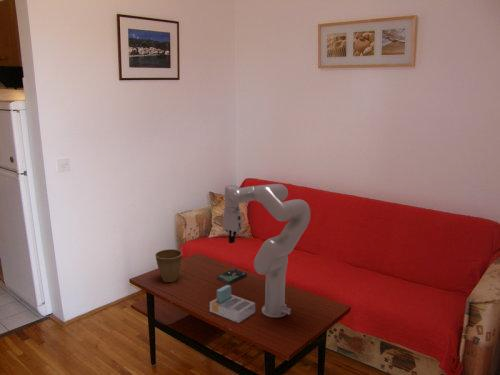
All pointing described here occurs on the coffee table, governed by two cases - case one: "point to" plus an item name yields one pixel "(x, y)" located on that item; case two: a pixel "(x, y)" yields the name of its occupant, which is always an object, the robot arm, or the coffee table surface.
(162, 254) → the plant pot
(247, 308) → the frame
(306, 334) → the coffee table surface
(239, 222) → the robot arm
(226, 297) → the panel
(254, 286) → the coffee table surface
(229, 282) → the disk drive
